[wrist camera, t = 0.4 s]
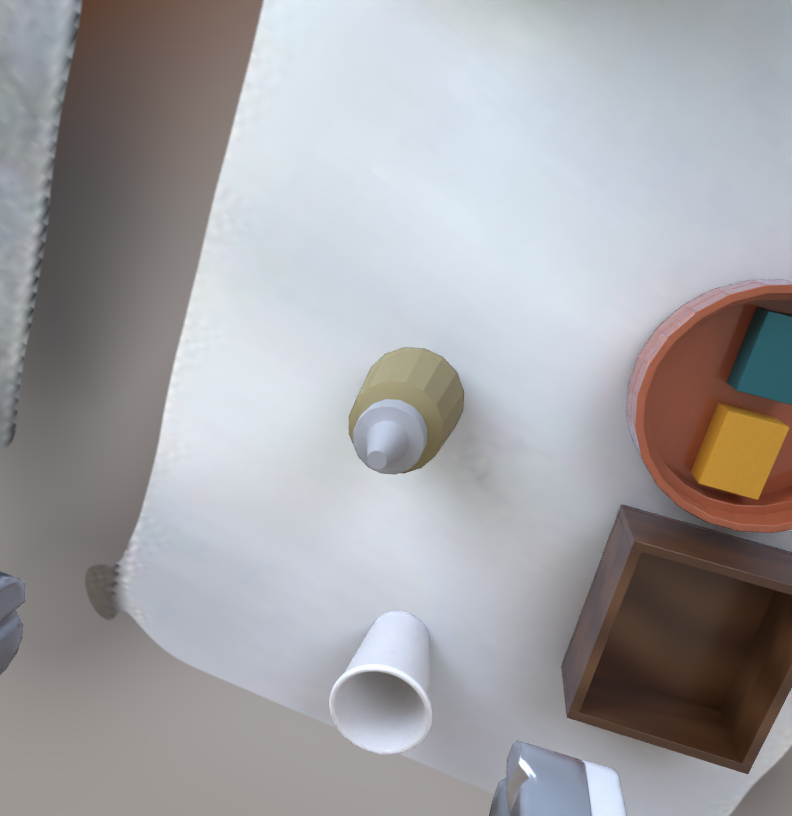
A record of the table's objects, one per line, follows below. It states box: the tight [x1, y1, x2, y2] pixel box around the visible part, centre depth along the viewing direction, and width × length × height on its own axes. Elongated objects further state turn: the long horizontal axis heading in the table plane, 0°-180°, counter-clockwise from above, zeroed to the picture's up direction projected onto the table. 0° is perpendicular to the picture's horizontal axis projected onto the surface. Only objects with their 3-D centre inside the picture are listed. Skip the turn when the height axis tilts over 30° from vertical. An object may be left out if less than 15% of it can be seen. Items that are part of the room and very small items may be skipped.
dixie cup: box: [329, 611, 432, 755], centre depth 58 cm, size 8×8×10 cm
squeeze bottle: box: [349, 347, 464, 474], centre depth 47 cm, size 8×8×18 cm
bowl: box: [627, 279, 792, 533], centre depth 49 cm, size 18×18×4 cm
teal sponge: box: [727, 307, 792, 405], centre depth 49 cm, size 6×4×2 cm
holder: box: [561, 505, 792, 774], centre depth 54 cm, size 17×15×7 cm
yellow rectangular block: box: [691, 403, 790, 500], centre depth 51 cm, size 6×4×2 cm
